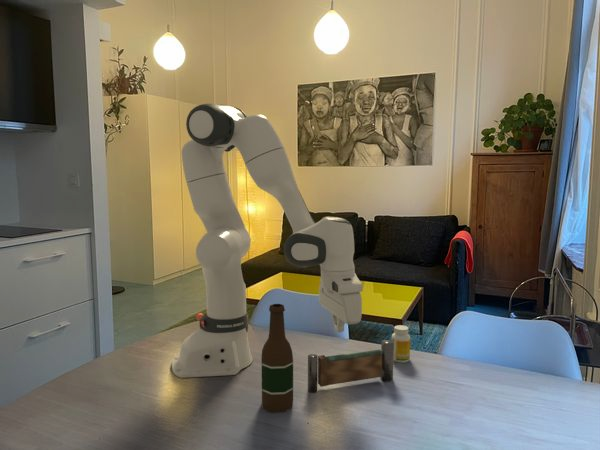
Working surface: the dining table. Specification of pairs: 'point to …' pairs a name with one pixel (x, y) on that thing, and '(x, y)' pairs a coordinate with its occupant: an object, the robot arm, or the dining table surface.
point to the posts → (386, 365)
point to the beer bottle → (277, 365)
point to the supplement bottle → (401, 344)
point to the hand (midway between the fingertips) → (338, 330)
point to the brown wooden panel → (349, 367)
